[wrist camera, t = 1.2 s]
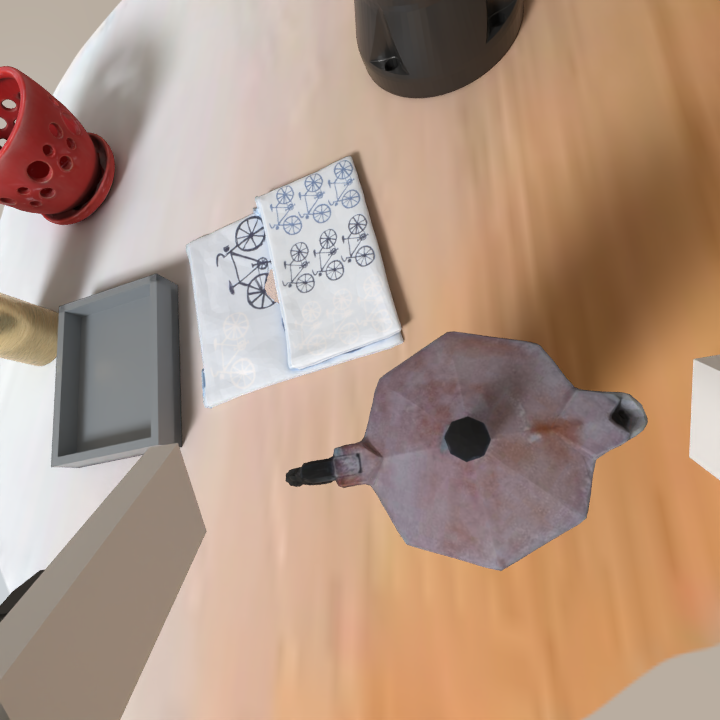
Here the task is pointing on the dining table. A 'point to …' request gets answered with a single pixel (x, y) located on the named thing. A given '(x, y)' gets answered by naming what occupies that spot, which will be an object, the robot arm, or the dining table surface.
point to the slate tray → (117, 374)
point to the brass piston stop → (27, 332)
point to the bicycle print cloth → (291, 287)
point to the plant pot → (49, 155)
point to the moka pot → (481, 448)
